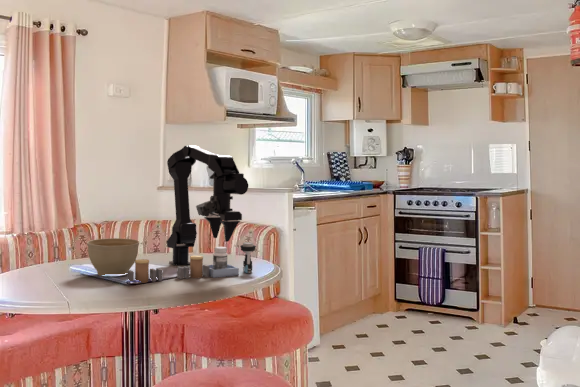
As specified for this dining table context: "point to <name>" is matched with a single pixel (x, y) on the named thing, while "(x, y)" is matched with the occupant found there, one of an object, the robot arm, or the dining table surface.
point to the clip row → (180, 273)
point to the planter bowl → (112, 255)
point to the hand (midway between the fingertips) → (221, 239)
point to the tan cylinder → (196, 266)
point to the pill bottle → (220, 258)
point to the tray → (223, 271)
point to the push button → (247, 256)
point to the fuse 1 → (142, 270)
